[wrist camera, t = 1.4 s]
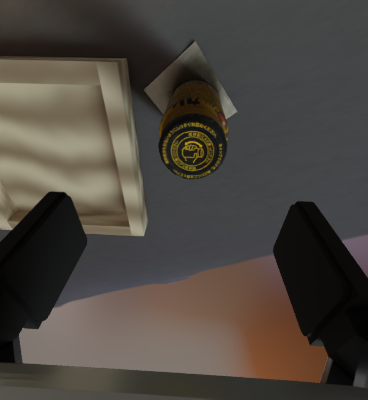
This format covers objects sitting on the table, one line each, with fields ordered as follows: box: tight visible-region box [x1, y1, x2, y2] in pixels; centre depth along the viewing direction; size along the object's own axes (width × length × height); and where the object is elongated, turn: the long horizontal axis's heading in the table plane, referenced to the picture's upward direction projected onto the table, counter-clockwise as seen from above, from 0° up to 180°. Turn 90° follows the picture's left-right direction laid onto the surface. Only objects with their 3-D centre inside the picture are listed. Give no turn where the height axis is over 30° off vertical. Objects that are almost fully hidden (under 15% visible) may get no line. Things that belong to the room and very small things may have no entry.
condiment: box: [144, 42, 237, 179], centre depth 20 cm, size 7×8×12 cm
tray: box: [0, 56, 148, 236], centre depth 29 cm, size 24×24×4 cm
